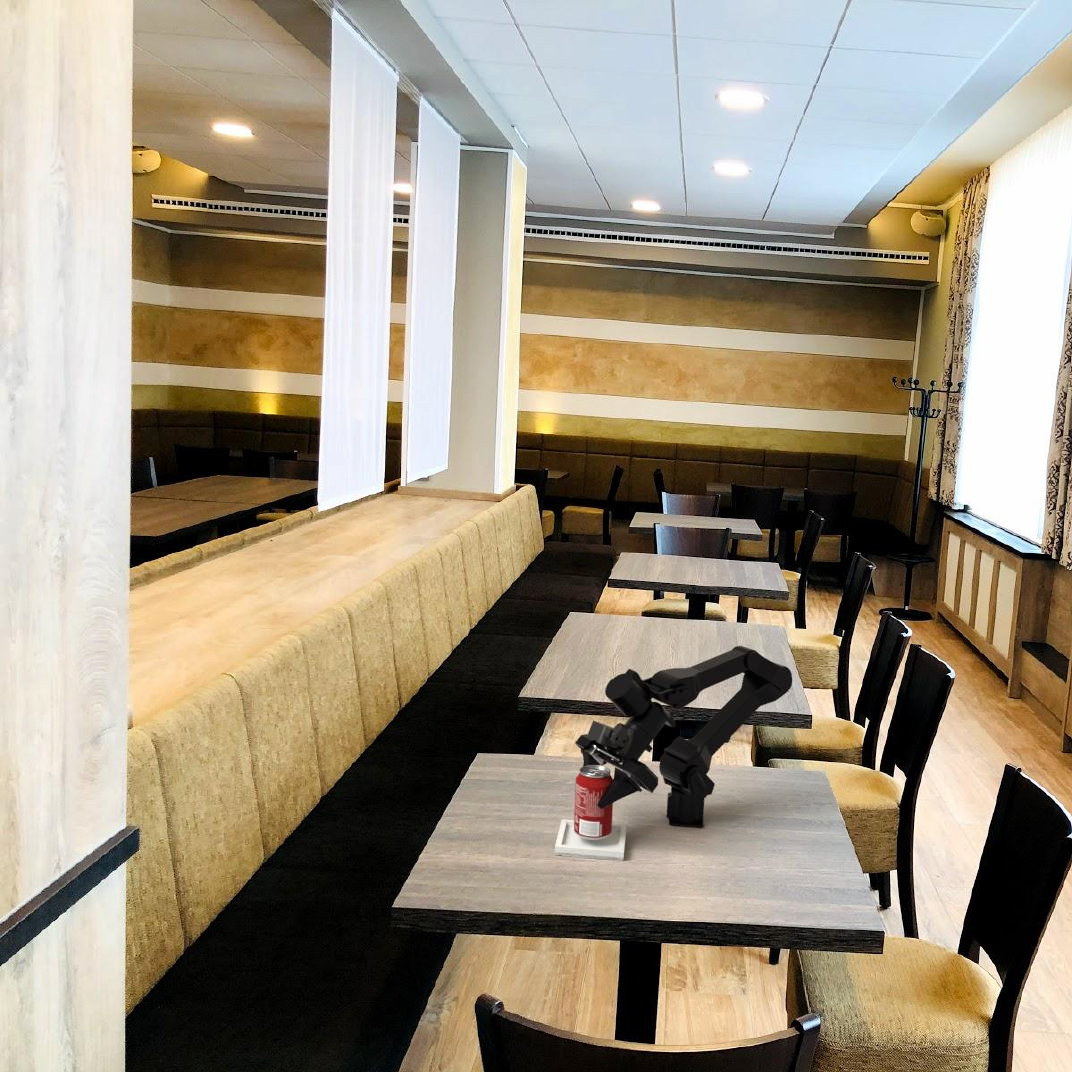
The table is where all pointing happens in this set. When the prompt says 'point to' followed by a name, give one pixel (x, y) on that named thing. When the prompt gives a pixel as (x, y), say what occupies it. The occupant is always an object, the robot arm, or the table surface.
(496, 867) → the table surface
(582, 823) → the soda can
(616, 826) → the tray
